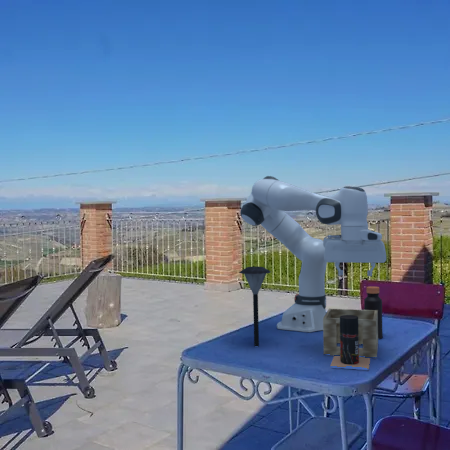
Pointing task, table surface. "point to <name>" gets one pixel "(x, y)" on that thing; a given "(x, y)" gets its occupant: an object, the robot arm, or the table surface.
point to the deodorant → (349, 339)
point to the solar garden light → (255, 292)
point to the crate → (365, 329)
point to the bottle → (374, 305)
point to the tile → (362, 363)
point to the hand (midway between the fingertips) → (355, 275)
